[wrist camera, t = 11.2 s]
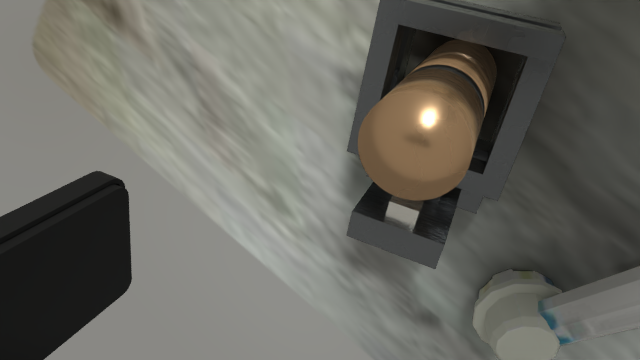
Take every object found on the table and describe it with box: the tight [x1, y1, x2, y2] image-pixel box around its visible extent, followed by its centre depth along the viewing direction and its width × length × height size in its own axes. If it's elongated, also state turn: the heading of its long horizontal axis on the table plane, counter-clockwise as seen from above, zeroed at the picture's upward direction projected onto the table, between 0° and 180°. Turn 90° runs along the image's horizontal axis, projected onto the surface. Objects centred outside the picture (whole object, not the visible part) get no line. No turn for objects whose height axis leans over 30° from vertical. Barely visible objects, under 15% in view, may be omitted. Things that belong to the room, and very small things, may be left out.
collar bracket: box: [347, 0, 566, 269], centre depth 27 cm, size 9×13×10 cm
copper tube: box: [358, 39, 497, 201], centre depth 24 cm, size 4×4×14 cm
